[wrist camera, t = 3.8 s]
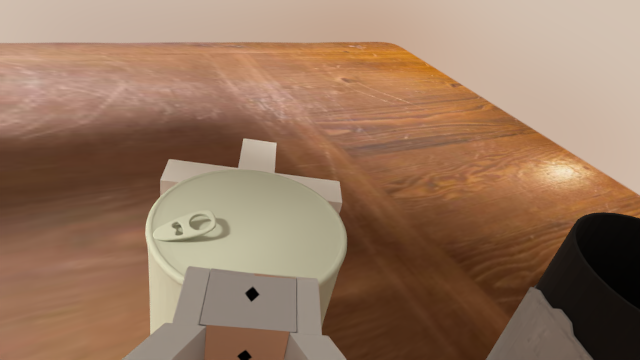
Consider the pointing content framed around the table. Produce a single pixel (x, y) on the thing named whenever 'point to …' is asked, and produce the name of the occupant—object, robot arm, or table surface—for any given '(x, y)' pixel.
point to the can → (241, 234)
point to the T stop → (251, 158)
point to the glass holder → (582, 298)
